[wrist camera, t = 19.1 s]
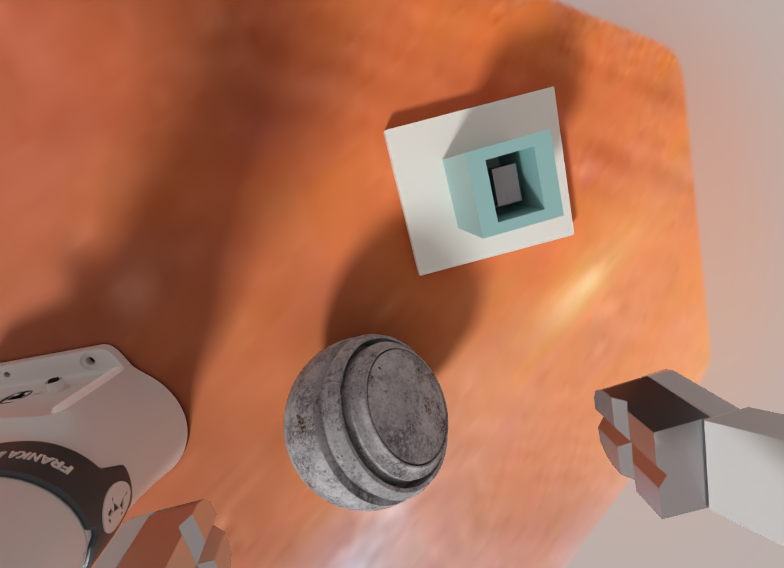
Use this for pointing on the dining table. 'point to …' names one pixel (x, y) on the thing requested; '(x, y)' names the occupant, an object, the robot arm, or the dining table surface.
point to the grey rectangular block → (504, 184)
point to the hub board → (475, 131)
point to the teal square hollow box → (534, 181)
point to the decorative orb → (366, 423)
